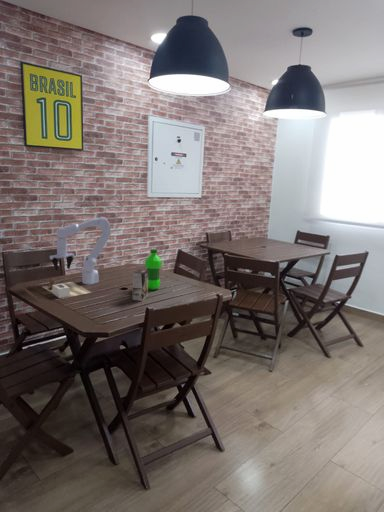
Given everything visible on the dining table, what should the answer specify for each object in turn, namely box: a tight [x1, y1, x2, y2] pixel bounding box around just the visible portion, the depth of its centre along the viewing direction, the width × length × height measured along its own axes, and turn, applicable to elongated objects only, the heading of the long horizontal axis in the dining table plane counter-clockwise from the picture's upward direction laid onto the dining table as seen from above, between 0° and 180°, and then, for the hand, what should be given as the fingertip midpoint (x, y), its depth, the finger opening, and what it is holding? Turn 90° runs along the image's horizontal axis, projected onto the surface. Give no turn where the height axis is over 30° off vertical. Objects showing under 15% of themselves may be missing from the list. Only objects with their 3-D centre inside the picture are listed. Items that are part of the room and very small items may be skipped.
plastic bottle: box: [144, 248, 162, 291], centre depth 228 cm, size 10×10×25 cm
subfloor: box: [42, 281, 93, 299], centre depth 216 cm, size 19×26×1 cm
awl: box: [48, 278, 56, 290], centre depth 216 cm, size 3×3×6 cm
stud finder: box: [52, 283, 70, 299], centre depth 205 cm, size 6×9×6 cm, turn 42°
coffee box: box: [132, 268, 149, 302], centre depth 210 cm, size 9×6×16 cm
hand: (62, 269), depth 225 cm, fingers open, 7 cm apart
